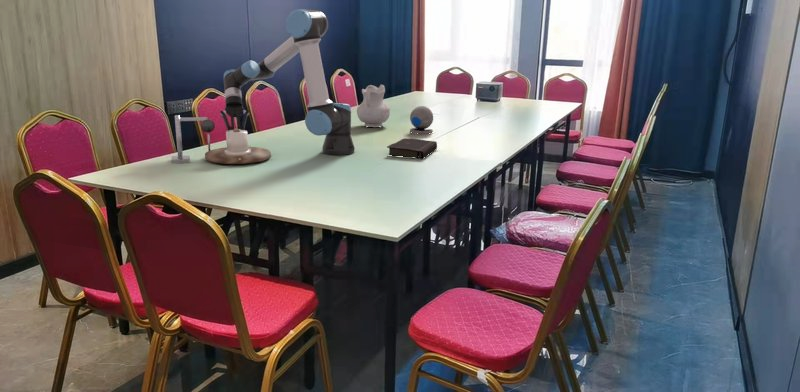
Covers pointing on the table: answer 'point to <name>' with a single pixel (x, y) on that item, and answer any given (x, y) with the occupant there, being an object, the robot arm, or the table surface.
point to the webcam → (421, 120)
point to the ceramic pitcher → (373, 107)
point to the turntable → (255, 156)
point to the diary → (412, 148)
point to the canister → (237, 143)
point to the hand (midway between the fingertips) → (237, 142)
